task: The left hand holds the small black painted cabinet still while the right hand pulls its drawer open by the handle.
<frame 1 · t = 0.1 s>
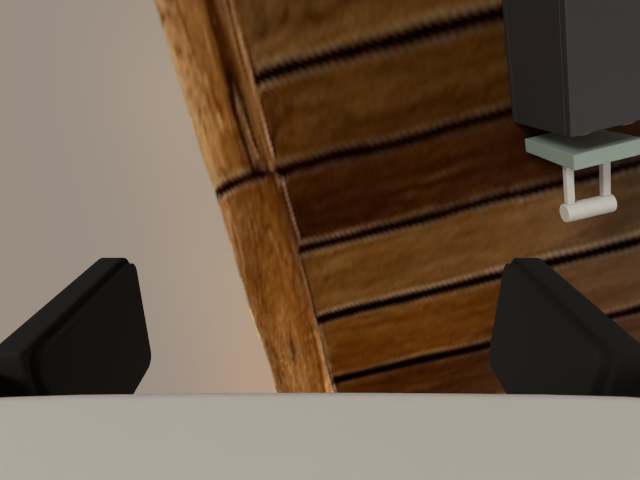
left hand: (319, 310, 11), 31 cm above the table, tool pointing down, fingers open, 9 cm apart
drawer: (575, 63, 33), point 5 cm above the table, slide at 1.6 cm
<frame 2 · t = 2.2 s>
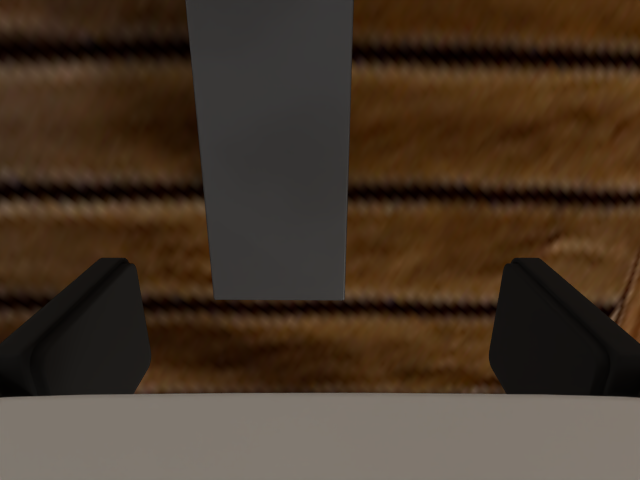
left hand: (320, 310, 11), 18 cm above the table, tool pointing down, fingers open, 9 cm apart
cabinet: (288, 70, 26), on the table
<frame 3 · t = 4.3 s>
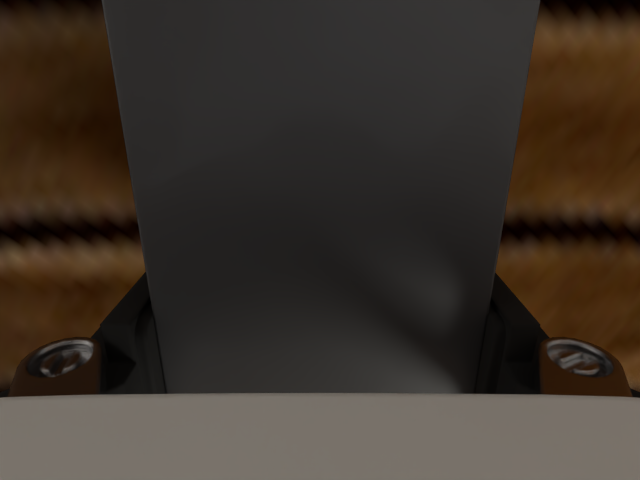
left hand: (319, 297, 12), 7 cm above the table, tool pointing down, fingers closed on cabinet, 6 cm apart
cabinet: (320, 26, 15), on the table, touching left hand
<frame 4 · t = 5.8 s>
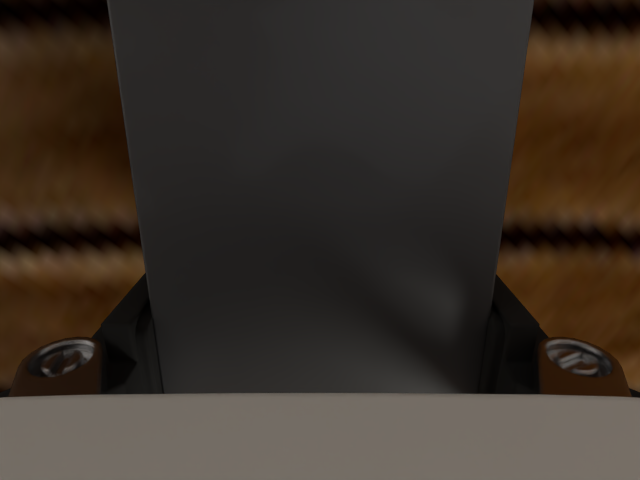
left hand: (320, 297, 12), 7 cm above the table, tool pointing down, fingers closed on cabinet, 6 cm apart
cabinet: (320, 41, 15), on the table, touching left hand
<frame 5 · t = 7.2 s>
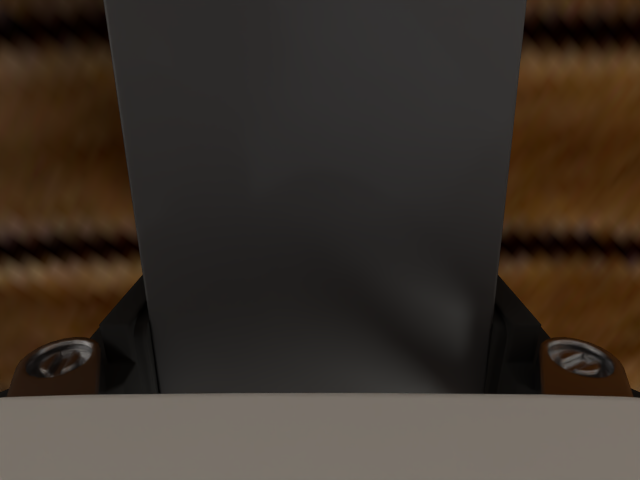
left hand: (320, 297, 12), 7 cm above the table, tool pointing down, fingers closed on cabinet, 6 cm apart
cabinet: (319, 53, 16), point 1 cm above the table, touching left hand
when the left hand's fingers open (7 cm above the table, at t = 8.7 s): cabinet stays where it is, on the table.
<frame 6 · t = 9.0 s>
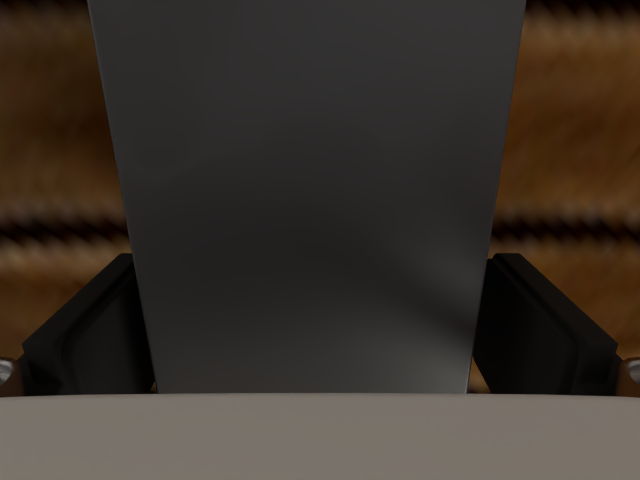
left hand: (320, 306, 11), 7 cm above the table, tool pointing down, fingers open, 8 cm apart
cabinet: (314, 27, 15), on the table
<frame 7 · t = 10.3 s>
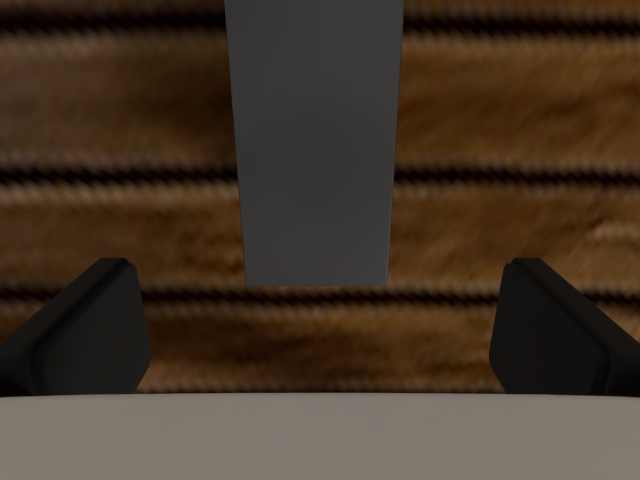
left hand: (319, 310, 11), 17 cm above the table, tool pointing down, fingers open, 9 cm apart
cabinet: (316, 43, 24), on the table
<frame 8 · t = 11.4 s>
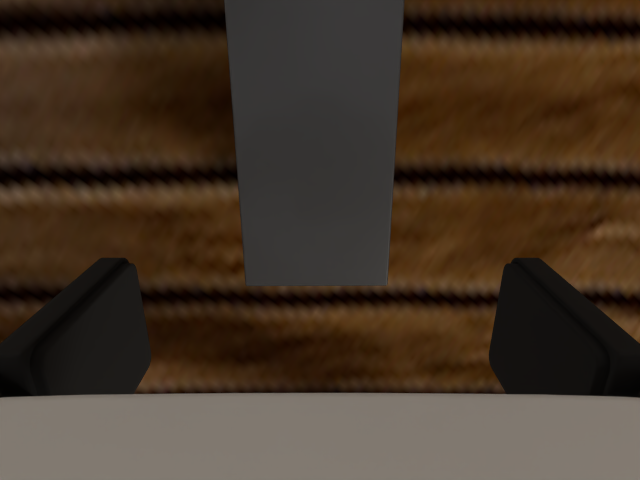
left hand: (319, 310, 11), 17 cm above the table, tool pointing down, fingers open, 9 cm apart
cabinet: (316, 43, 24), on the table
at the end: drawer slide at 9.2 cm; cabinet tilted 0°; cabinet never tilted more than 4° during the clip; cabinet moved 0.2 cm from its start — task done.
